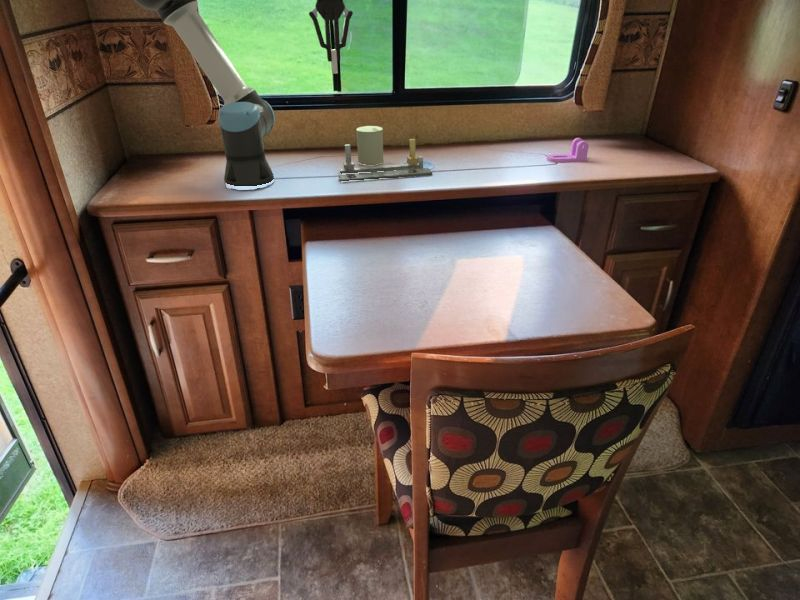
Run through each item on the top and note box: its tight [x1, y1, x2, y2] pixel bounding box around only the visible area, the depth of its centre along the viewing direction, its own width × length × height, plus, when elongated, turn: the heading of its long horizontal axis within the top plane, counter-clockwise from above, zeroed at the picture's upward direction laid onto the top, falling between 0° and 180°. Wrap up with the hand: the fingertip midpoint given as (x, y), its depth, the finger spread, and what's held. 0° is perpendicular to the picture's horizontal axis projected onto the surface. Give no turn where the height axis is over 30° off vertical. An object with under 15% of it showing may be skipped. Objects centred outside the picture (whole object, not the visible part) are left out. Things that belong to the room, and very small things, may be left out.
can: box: [355, 125, 385, 166], centre depth 180 cm, size 9×9×12 cm
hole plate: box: [338, 167, 433, 181], centre depth 168 cm, size 30×5×1 cm, turn 103°
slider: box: [406, 138, 418, 165], centre depth 173 cm, size 3×3×8 cm
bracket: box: [546, 137, 590, 164], centre depth 181 cm, size 13×6×7 cm, turn 96°
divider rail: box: [339, 143, 424, 174], centre depth 172 cm, size 28×3×9 cm, turn 103°
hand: (334, 73), depth 159 cm, fingers closed
